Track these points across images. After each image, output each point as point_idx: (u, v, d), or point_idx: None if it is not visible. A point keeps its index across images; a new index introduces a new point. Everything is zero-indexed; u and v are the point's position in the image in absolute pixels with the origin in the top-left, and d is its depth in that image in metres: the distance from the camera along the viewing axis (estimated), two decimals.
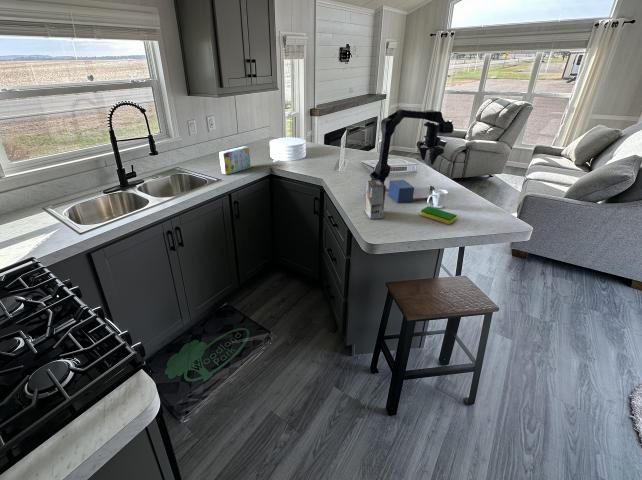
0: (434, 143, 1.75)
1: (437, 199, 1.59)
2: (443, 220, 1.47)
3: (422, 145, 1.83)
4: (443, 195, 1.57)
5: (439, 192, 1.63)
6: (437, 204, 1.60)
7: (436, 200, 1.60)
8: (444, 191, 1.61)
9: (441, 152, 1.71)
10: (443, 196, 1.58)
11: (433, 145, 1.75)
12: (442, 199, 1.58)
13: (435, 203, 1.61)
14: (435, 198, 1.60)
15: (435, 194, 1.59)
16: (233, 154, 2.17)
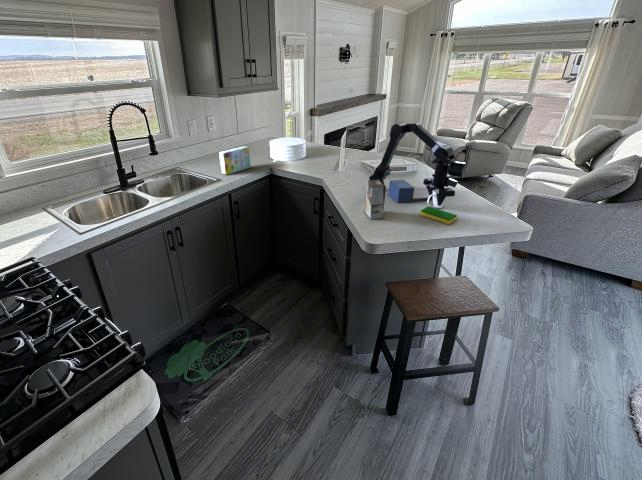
0: (444, 183, 1.55)
1: None
2: (443, 220, 1.47)
3: (431, 184, 1.61)
4: None
5: None
6: (437, 204, 1.60)
7: (436, 200, 1.60)
8: None
9: (452, 195, 1.50)
10: None
11: (442, 185, 1.55)
12: None
13: (435, 203, 1.61)
14: (435, 198, 1.60)
15: (435, 194, 1.59)
16: (233, 154, 2.17)
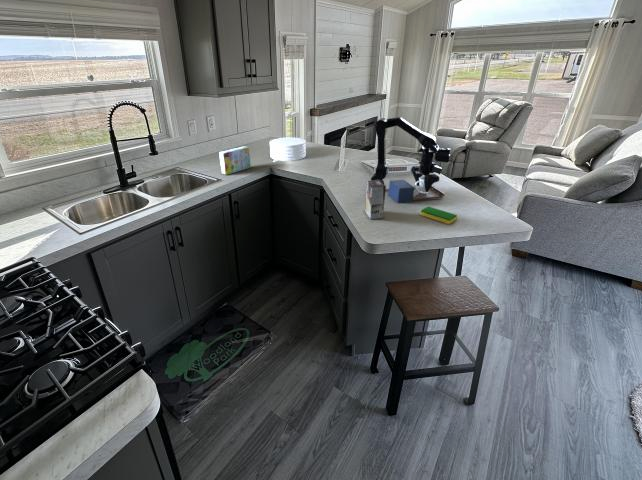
0: (429, 170, 1.67)
1: (423, 185, 1.71)
2: (443, 220, 1.47)
3: (417, 171, 1.74)
4: None
5: None
6: (423, 190, 1.72)
7: (422, 186, 1.72)
8: None
9: (436, 180, 1.62)
10: None
11: (428, 172, 1.67)
12: None
13: (421, 189, 1.73)
14: (421, 184, 1.72)
15: (421, 181, 1.71)
16: (233, 154, 2.17)
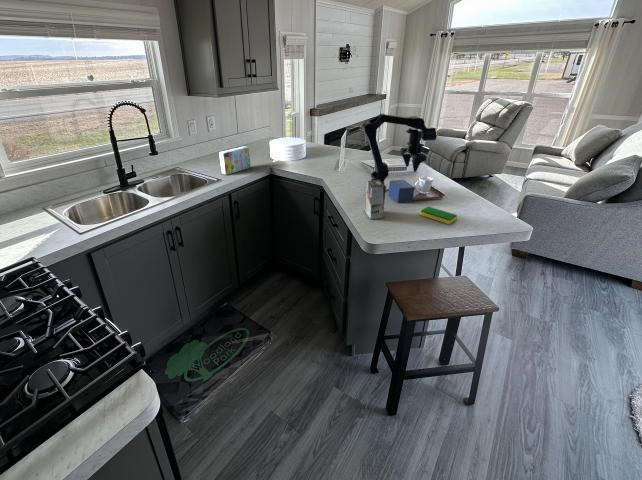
0: (417, 150, 1.73)
1: (423, 185, 1.71)
2: (443, 220, 1.47)
3: (405, 152, 1.81)
4: (428, 181, 1.69)
5: (425, 179, 1.75)
6: (423, 190, 1.72)
7: (422, 186, 1.72)
8: (430, 178, 1.73)
9: (423, 159, 1.69)
10: (428, 182, 1.69)
11: (416, 152, 1.74)
12: (428, 185, 1.70)
13: (421, 189, 1.73)
14: (421, 184, 1.72)
15: (421, 181, 1.71)
16: (233, 154, 2.17)
